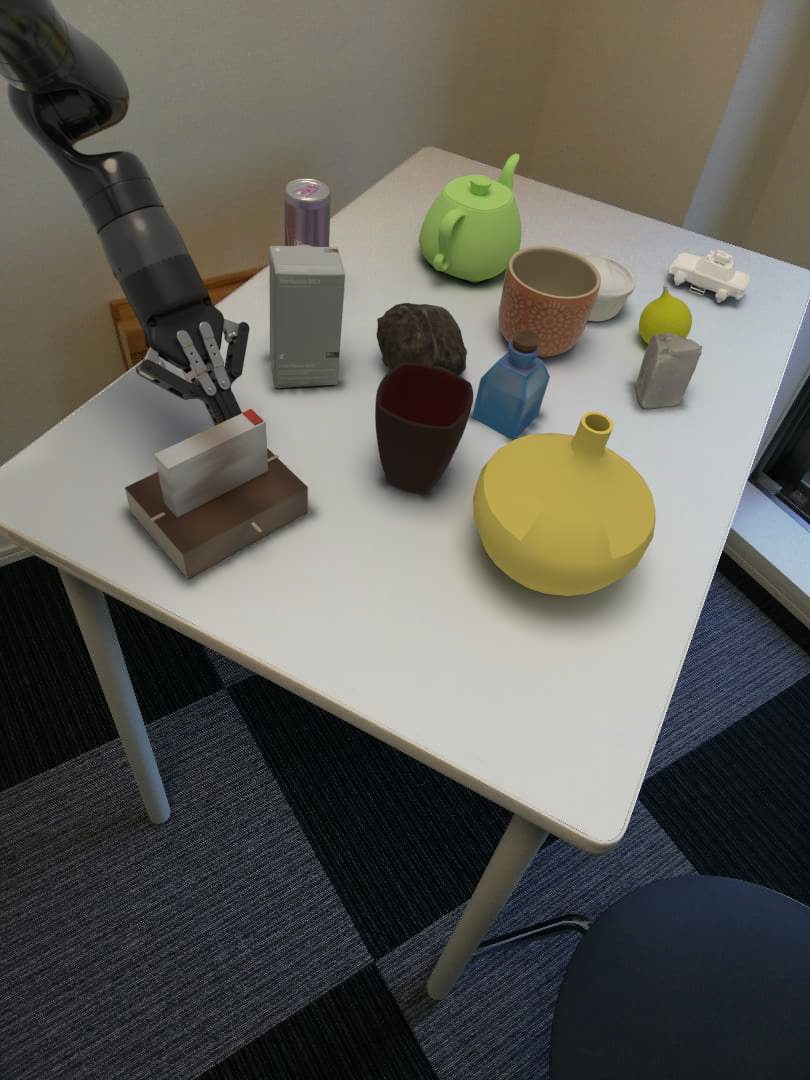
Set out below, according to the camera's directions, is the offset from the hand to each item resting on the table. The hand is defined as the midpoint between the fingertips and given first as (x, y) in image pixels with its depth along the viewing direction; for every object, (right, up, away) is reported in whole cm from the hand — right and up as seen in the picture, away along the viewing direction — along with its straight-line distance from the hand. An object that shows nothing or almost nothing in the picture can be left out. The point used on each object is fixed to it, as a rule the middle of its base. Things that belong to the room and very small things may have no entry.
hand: (233, 427), depth 81 cm
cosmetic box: (+5, +10, +19) cm, 22 cm away
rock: (+20, +11, +21) cm, 31 cm away
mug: (+20, -3, +10) cm, 22 cm away
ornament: (+54, +16, +31) cm, 64 cm away
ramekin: (+45, +23, +35) cm, 62 cm away
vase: (+33, -13, +3) cm, 36 cm away
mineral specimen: (+52, +8, +24) cm, 57 cm away
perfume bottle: (+31, +4, +17) cm, 35 cm away
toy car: (+65, +28, +41) cm, 82 cm away
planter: (+36, +16, +28) cm, 49 cm away
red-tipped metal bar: (-1, -6, -1) cm, 6 cm away
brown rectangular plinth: (-2, -9, +2) cm, 9 cm away
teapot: (+28, +32, +40) cm, 58 cm away
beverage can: (+4, +24, +30) cm, 38 cm away
